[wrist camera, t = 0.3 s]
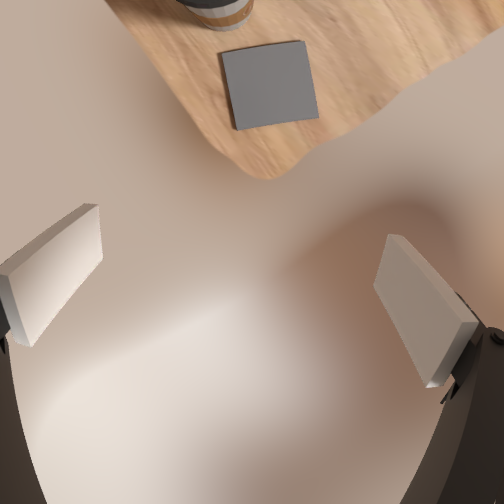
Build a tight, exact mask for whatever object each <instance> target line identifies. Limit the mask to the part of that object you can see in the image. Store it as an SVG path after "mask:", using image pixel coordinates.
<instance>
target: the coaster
mask: <svg viewBox="0 0 504 504" xmlns="http://www.w3.org/2000/svg"><path fill="white" fill-rule="evenodd" d="M222 58H223V63H224V68H225V73H226V78H227V83H228V88H229V92H230V97H231V102H232V107H233V112H234V117H235V122H236V127H237V131H238V130H243V129H249V128H254V127H260V126H266V125H272V124H279V123H285V122H292V121H299V120H307V119H315V118H319V114H318V108H317V102H316V96H315V91H314V85H313V80H312V75H311V70H310V64H309V60H308V55H307V50H306V45H305V41H299V42H290V43H281V44H274V45H267V46H260V47H254V48H248V49H242V50H237V51H232V52H227V53H222Z"/></svg>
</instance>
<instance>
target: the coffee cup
mask: <svg viewBox="0 0 504 504" xmlns="http://www.w3.org/2000/svg"><path fill="white" fill-rule="evenodd" d="M176 1H178V2H180V3H182V4H184V6H185V7H186V8H187V9H188V10H189V11H190V12H191V13H192V14H193V15H194V16H196V17H197V18H198V19H199V20H200V21H201V22H203V23H204V24H205V25H206V26H207V27H209V28H210V29H213V30H216V31H231V30H234V29H237V28H239V27H240V26H242V25H243V24H245V22H246V21H247V20H248V19H249V17H250V15H251V10H252V8H253V2H254V0H176Z"/></svg>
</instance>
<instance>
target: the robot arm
mask: <svg viewBox="0 0 504 504" xmlns="http://www.w3.org/2000/svg"><path fill="white" fill-rule="evenodd" d="M102 259H103V255H102V245H101V234H100V221H99V206H98V204H83V205H82V206H80V207H79V208H77V209H75V210H74V211H73V212H71V213H70V214H68V215H67V216H65V217H64V218H62V219H61V220H59V221H58V222H57V223H55V224H54V225H53V226H51V227H50V228H48V229H47V230H46V231H44V232H43V233H42V234H40V235H39V236H37V237H36V238H35V239H33V240H32V241H31V242H29V243H28V244H27V245H25V246H24V247H23V248H22V249H20V250H19V251H17V252H16V253H15V254H14V255H12V256H11V257H10V258H9V259H7V260H6V261H5V262H4V263H3V264H1V265H0V504H47V502H46V500H45V498H44V495H43V492H42V489H41V487H40V484H39V481H38V478H37V475H36V473H35V470H34V466H33V463H32V460H31V457H30V454H29V450H28V447H27V443H26V440H25V436H24V432H23V428H22V424H21V420H20V415H19V411H18V406H17V401H16V396H15V390H14V384H13V378H12V371H11V364H10V356H9V346H8V342H7V339H6V337H5V335H6V333H7V332H8V331H9V330H10V329H11V332H12V335H13V337H14V340H15V342H16V343H19V344H22V345H25V346H28V347H32V346H33V344H34V343H35V342H36V340H37V339H38V338H39V336H40V335H41V334H42V332H43V331H44V330H45V328H46V327H47V326H48V324H49V323H50V322H51V320H52V319H53V318H54V317H55V316H56V314H57V313H58V312H59V310H60V309H61V308H62V307H63V306H64V304H65V303H66V302H67V301H68V299H69V298H70V297H71V296H72V294H73V293H74V292H75V291H76V290H77V288H78V287H79V286H80V285H81V283H82V282H83V281H84V280H85V279H86V277H88V275H89V274H90V273H91V272H92V271H93V270H94V268H95V267H96V266H97V265H98V264H99V263H100V262H101V260H102ZM373 287H374V289H375V290H376V292H377V294H378V296H379V298H380V299H381V301H382V303H383V305H384V306H385V308H386V310H387V312H388V314H389V316H390V318H391V319H392V321H393V323H394V325H395V327H396V329H397V331H398V333H399V335H400V337H401V339H402V341H403V343H404V345H405V346H406V348H407V350H408V352H409V354H410V356H411V358H412V360H413V362H414V364H415V367H416V369H417V371H418V372H419V375H420V377H421V379H422V381H423V383H424V385H425V387H426V388H429V387H438V386H443V385H444V383H445V382H446V380H447V379H448V377H449V375H450V374H452V376H453V377H454V379H455V382H454V383H453V385H452V386H451V388H450V389H449V391H448V392H447V394H446V395H445V397H444V398H443V400H442V401H441V402H440V403H441V404H443V403H444V401H446V402H445V405H444V408H443V410H442V413H441V416H440V419H439V421H438V424H437V426H436V429H435V431H434V434H433V436H432V439H431V441H430V444H429V446H428V448H427V450H426V453H425V455H424V457H423V459H422V461H421V464H420V466H419V468H418V470H417V472H416V474H415V476H414V478H413V480H412V482H411V484H410V486H409V488H408V489H407V491H406V493H405V495H404V497H403V499H402V500H401V502H400V504H494V503H495V504H504V332H503V331H502V330H500V329H497V328H494V327H488V328H486V327H485V325H484V324H483V323H482V322H481V320H480V319H479V318H478V317H477V315H476V314H475V313H474V312H473V311H472V310H471V308H470V307H469V306H468V305H467V304H466V303H465V301H464V300H463V299H462V297H461V296H460V295H459V294H457V293H456V292H455V291H453V290H452V289H451V287H450V286H449V285H448V284H447V283H446V282H445V281H444V280H443V278H442V277H441V276H440V275H439V274H438V273H437V272H436V271H435V269H433V267H432V266H431V265H430V264H429V263H428V262H427V261H426V260H425V259H424V257H423V256H422V255H421V254H420V253H419V252H418V251H417V250H416V249H415V248H414V247H413V246H412V245H411V244H410V243H409V242H408V241H407V240H406V239H405V238H404V237H403V236H401V235H393V234H388V237H387V241H386V244H385V248H384V252H383V255H382V259H381V262H380V266H379V269H378V272H377V275H376V279H375V282H374V285H373Z"/></svg>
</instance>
